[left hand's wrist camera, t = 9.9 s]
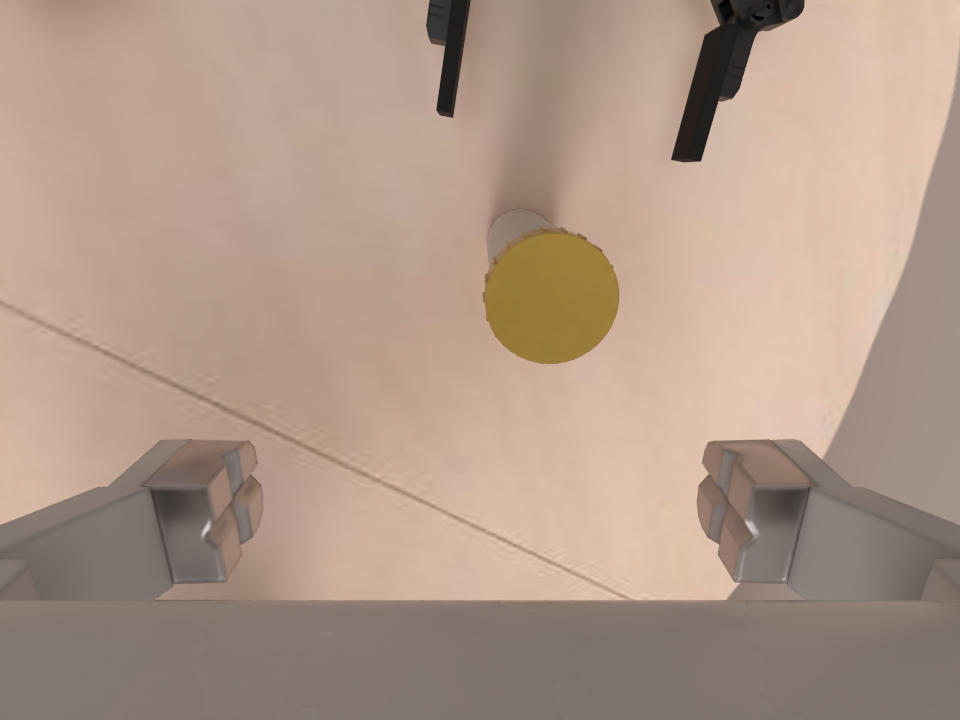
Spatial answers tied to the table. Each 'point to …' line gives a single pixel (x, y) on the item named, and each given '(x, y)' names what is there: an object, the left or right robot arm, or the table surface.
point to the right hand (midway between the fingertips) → (566, 138)
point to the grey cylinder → (512, 228)
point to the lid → (550, 295)
